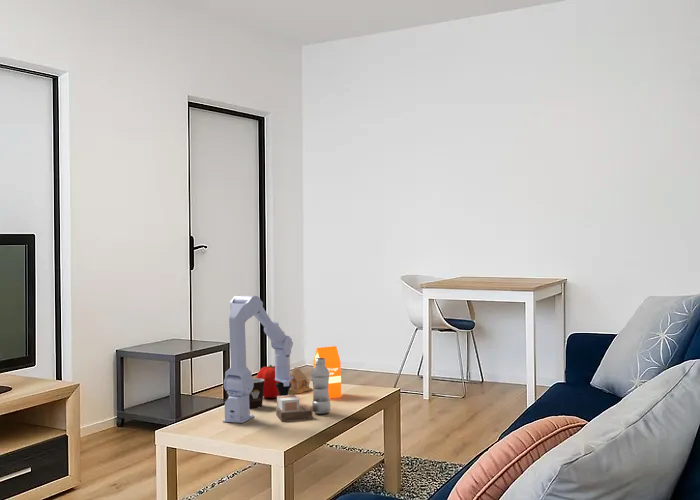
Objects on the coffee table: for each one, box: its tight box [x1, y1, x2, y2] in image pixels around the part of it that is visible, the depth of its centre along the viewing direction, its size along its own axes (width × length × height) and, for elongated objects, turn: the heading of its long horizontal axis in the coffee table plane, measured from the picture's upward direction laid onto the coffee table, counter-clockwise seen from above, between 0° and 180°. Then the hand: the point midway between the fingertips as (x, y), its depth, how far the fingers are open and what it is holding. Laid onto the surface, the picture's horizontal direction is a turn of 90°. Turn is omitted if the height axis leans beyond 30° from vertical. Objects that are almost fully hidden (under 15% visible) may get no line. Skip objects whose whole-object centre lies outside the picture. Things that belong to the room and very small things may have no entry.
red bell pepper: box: [256, 364, 279, 399], centre depth 290 cm, size 12×12×13 cm
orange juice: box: [312, 345, 342, 399], centre depth 290 cm, size 8×9×20 cm
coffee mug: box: [249, 377, 264, 410], centre depth 275 cm, size 12×9×10 cm
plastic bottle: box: [310, 358, 331, 415], centre depth 262 cm, size 6×7×20 cm
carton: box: [276, 394, 301, 412], centre depth 268 cm, size 8×6×5 cm
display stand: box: [275, 405, 313, 422], centre depth 258 cm, size 10×11×3 cm
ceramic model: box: [288, 366, 312, 395], centre depth 302 cm, size 14×11×10 cm
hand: (283, 401), depth 276 cm, fingers closed
